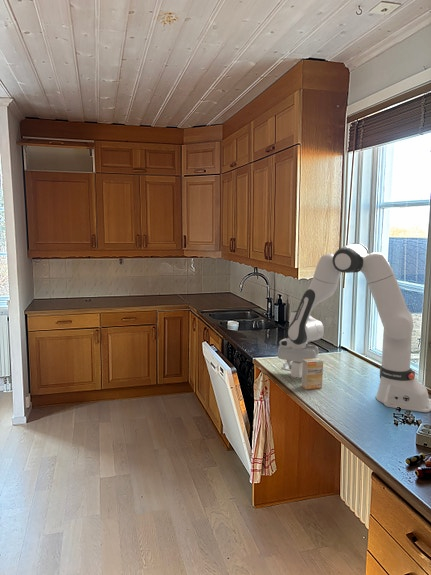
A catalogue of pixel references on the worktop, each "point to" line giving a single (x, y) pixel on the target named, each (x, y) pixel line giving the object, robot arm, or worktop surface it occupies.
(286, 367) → the rail plate
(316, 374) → the supplement box
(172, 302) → the worktop surface
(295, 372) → the block
